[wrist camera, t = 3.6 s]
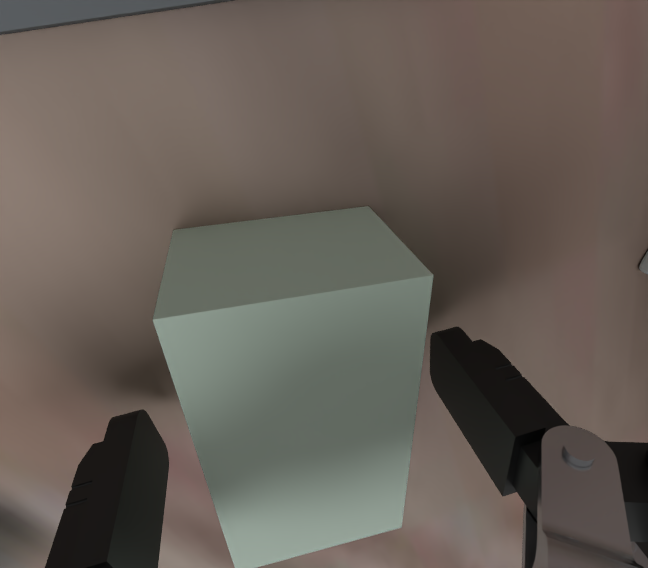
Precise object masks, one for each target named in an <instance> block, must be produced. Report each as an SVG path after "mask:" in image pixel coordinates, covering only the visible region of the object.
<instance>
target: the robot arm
mask: <svg viewBox="0 0 648 568" xmlns="http://www.w3.org/2000/svg"><path fill="white" fill-rule="evenodd" d="M430 375H431V380H432V383H433V385H434V388H435V390H436V392H437V393H438V395H439V397H440V398H441V400H442V401H443V403H444V404H445V406H446V408H447V409H448V411H449V412H450V414H451V416H452V417H453V419H454V420H455V422H456V423H457V425H458V427H459V428H460V430H461V431H462V433H463V435H464V436H465V438H466V439H467V441H468V442H469V444H470V446H471V447H472V449H473V450H474V452H475V454H476V455H477V457H478V458H479V460H480V461H481V463H482V465H483V466H484V468H485V469H486V471H487V472H488V474H489V476H490V477H491V479H492V480H493V482H494V484H495V485H496V487H497V488H498V490H499V491H500V493H501V495H502V496H506V495H509V494H512V493H515V492H517V493H518V494H519V496H520V497H521V499H522V500H523V502H524V503H525V504H524V511H523V543H522V568H648V443H635V442H607V441H603V440H602V439H601V438H599V437H598V436H596V435H595V434H593V433H591V432H589V431H587V430H585V429H582V428H579V427H575V426H570V425H568V424H567V423H566V422H565V421H564V420H563V419H562V418H561V417H560V416H559V414H558V413H557V412H556V411H555V410H554V409H553V408H552V407H551V406H550V405H549V404H548V403H547V401H546V400H545V399H544V398H543V397H542V396H541V395H540V394H539V393H538V392H537V391H536V390H535V388H534V387H533V386H532V385H531V384H530V383H529V382H528V381H527V380H526V379H525V378H524V377H522V375H521V373H520V372H519V371H518V370H517V369H516V368H515V367H514V366H512V365H511V362H510V361H509V360H508V359H507V358H506V357H505V356H504V355H503V354H502V353H501V352H500V350H499V349H497V348H495V347H493V346H492V345H490V344H488V343H486V342H485V341H483V340H481V339H480V340H477V341H473V342H472V340H471V339H470V338H469V337H468V336H467V335H466V333H465V332H464V331H463V330H462V329H461V328H460V327H453V328H450V329H446V330H442V331H438V332H435V333H432V334H431V340H430ZM168 471H169V458H168V452H167V448H166V445H165V443H164V441H163V439H162V438H161V436H160V434H159V432H158V431H157V429H156V427H155V426H154V424H153V422H152V420H151V419H150V417H149V415H148V413H147V412H146V411H145V410H143V409H142V410H138V411H135V412H131V413H127V414H123V415H120V416H116V417H113V418H111V420H110V421H109V424H108V427H107V431H106V434H105V438H104V441H103V442H99V443H95V444H93V445H92V446H91V448H90V449H89V451H88V452H87V454H86V455H85V456H84V458H83V459H82V461H81V462H80V463H79V465H78V468H77V471H76V474H75V477H74V480H73V483H72V486H71V487H72V490H71V491H70V492H69V495H68V499H67V502H66V509H64V511H63V514H62V517H61V520H60V523H59V526H58V529H57V532H56V535H55V538H54V541H53V545H52V548H51V551H50V554H49V557H48V560H47V563H46V566H45V568H158V560H159V551H160V542H161V533H162V524H163V515H164V506H165V497H166V488H167V479H168Z"/></svg>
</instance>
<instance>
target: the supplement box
mask: <svg viewBox="0 0 648 568" xmlns="http://www.w3.org/2000/svg"><path fill="white" fill-rule="evenodd" d="M639 269H640V270H641V271H642V272H643V273H646V274H648V251H647V253H646V255H645V256H644V258H643V260H642V262H641V264H640V267H639Z"/></svg>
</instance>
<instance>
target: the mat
mask: <svg viewBox="0 0 648 568" xmlns="http://www.w3.org/2000/svg"><path fill="white" fill-rule="evenodd" d="M227 1H234V0H0V35H2V34H9V33H16V32H23V31H30V30H36V29H43V28H50V27H57V26H64V25H70V24H77V23H84V22H91V21H98V20H104V19H111V18H118V17H125V16H132V15H139V14H145V13H152V12H159V11H166V10H173V9H179V8H186V7H193V6H200V5H207V4H213V3H220V2H227Z"/></svg>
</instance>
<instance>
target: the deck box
mask: <svg viewBox="0 0 648 568" xmlns="http://www.w3.org/2000/svg"><path fill="white" fill-rule="evenodd" d="M433 276H434V275H433V274H432V273H431V272H430V271H429V270H428V269H427V268H426V267H425V266H424V264H423V263H422V262H421V261H420V260H419V259H418V258H417V257H416V256H415V255H414V254H413V253H412V252H411V251H410V250H409V248H408V247H407V246H406V245H405V244H404V243H403V242H402V241H401V240H400V239H399V238H398V237H397V236H396V235H395V234H394V233H393V231H392V230H391V229H390V228H389V227H388V226H387V225H386V224H385V223H384V222H383V221H382V220H381V219H380V218H379V217H378V215H377V214H376V213H375V212H374V211H373V210H372V209H371V208H370V207H369V206H365V207H357V208H349V209H340V210H332V211H324V212H316V213H307V214H299V215H291V216H283V217H275V218H266V219H258V220H250V221H242V222H233V223H225V224H217V225H209V226H201V227H192V228H184V229H176V230H173V233H172V238H171V242H170V246H169V251H168V255H167V259H166V264H165V268H164V272H163V277H162V281H161V285H160V290H159V294H158V298H157V303H156V307H155V311H154V316H153V323H154V326H155V329H156V332H157V335H158V338H159V341H160V344H161V347H162V350H163V353H164V356H165V359H166V362H167V365H168V368H169V371H170V374H171V377H172V380H173V383H174V386H175V389H176V392H177V395H178V398H179V401H180V404H181V407H182V410H183V413H184V416H185V419H186V422H187V425H188V428H189V431H190V434H191V437H192V440H193V443H194V446H195V449H196V452H197V455H198V458H199V461H200V464H201V467H202V470H203V473H204V476H205V479H206V482H207V485H208V488H209V491H210V494H211V497H212V500H213V503H214V506H215V509H216V512H217V515H218V518H219V521H220V524H221V527H222V530H223V533H224V536H225V539H226V542H227V545H228V548H229V551H230V554H231V557H232V560H233V563H234V566H235V568H256V567H260V566H264V565H267V564H271V563H274V562H278V561H282V560H285V559H289V558H293V557H296V556H300V555H304V554H307V553H311V552H314V551H318V550H322V549H325V548H329V547H333V546H336V545H340V544H344V543H347V542H351V541H354V540H358V539H362V538H365V537H369V536H373V535H376V534H380V533H384V532H387V531H391V530H394V529H398V528H401V527H402V520H403V512H404V504H405V496H406V488H407V480H408V472H409V465H410V457H411V449H412V441H413V433H414V425H415V417H416V409H417V402H418V394H419V386H420V378H421V370H422V362H423V354H424V347H425V339H426V331H427V323H428V315H429V307H430V299H431V291H432V284H433Z"/></svg>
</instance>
